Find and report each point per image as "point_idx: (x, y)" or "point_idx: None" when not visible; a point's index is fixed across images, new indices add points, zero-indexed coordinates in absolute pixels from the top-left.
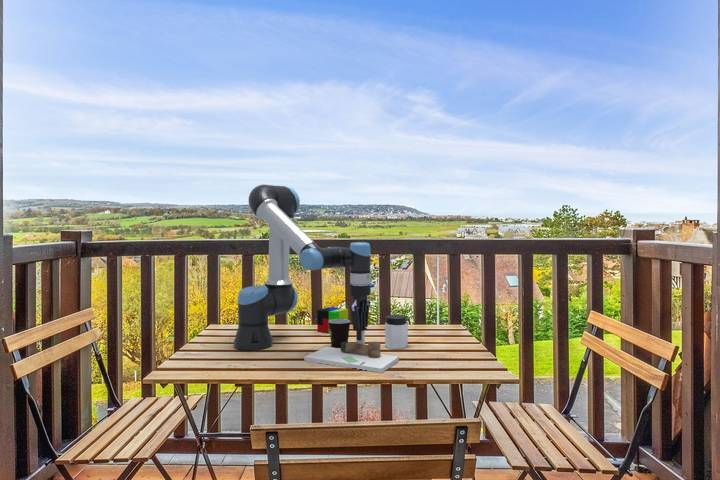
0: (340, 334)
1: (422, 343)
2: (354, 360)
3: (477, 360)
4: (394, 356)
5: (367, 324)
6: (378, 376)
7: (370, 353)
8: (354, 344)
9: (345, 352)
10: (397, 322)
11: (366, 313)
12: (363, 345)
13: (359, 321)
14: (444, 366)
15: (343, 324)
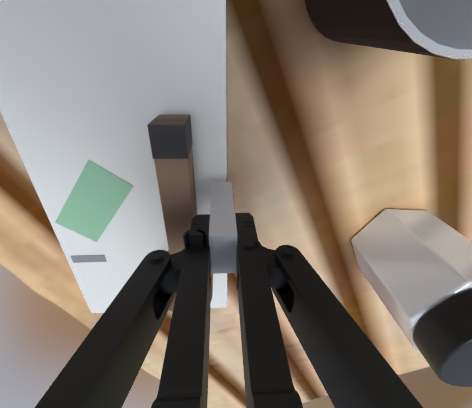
0: (337, 5)
1: None
2: (94, 224)
3: (301, 388)
4: (222, 299)
5: (293, 293)
6: (68, 304)
7: None
8: (168, 206)
9: None
10: (422, 352)
11: (325, 378)
12: (176, 246)
13: (146, 348)
14: (233, 366)
15: (390, 24)
